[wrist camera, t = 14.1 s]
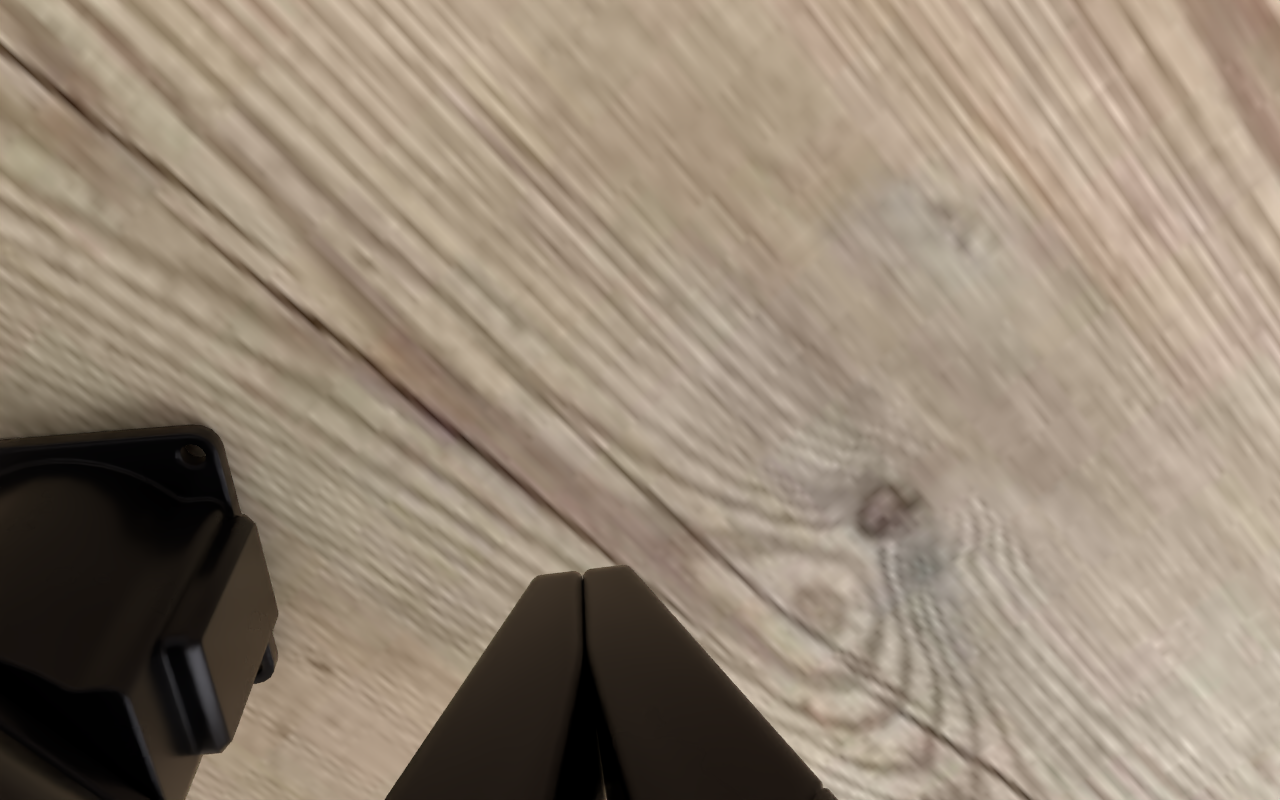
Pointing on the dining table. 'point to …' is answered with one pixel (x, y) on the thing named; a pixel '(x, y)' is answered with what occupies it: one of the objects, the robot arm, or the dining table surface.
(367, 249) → the dining table surface
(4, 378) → the dining table surface
